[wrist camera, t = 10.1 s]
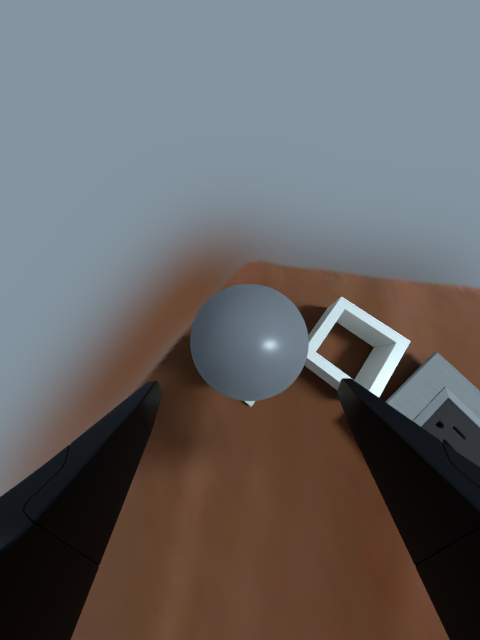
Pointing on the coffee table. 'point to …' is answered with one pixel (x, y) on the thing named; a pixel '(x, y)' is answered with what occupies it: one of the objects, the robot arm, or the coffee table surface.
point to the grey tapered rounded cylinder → (249, 342)
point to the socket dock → (368, 329)
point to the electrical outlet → (442, 405)
